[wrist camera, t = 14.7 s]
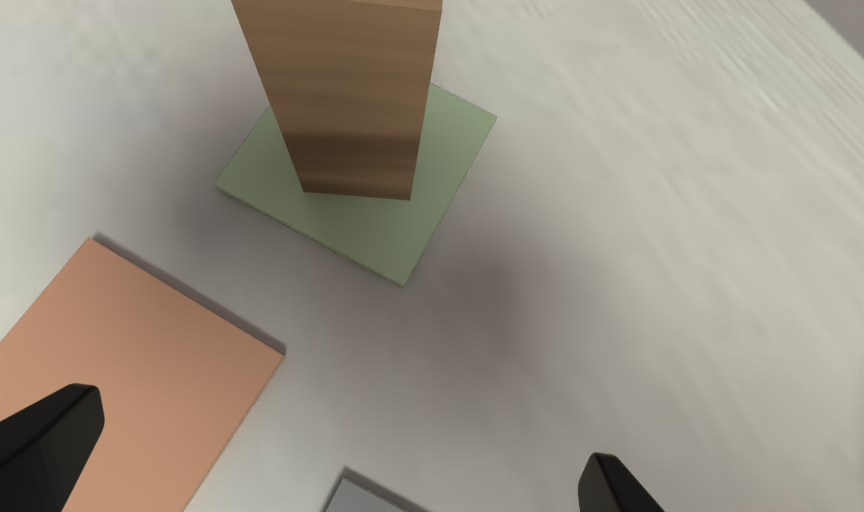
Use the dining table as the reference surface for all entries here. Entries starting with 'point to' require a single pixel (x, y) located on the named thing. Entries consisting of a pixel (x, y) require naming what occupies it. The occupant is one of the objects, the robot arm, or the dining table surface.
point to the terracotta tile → (136, 378)
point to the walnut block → (346, 87)
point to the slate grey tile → (359, 500)
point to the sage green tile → (364, 216)
